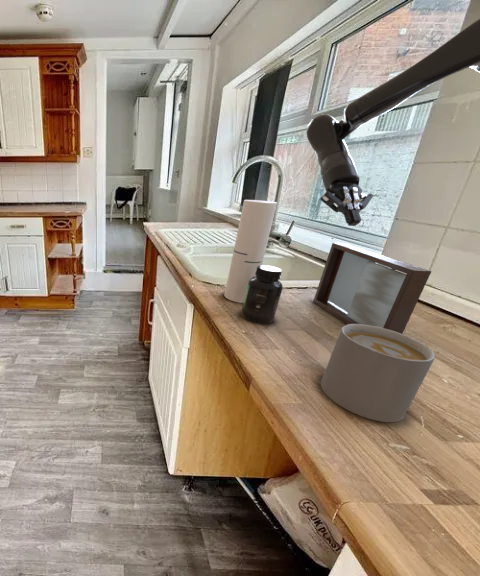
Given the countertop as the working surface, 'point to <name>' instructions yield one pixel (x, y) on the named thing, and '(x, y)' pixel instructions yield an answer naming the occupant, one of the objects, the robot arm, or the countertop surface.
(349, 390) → the coffee mug
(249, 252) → the cylindrical container
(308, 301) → the countertop surface
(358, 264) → the window pane
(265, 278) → the supplement bottle
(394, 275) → the window frame
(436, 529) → the countertop surface
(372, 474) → the countertop surface
